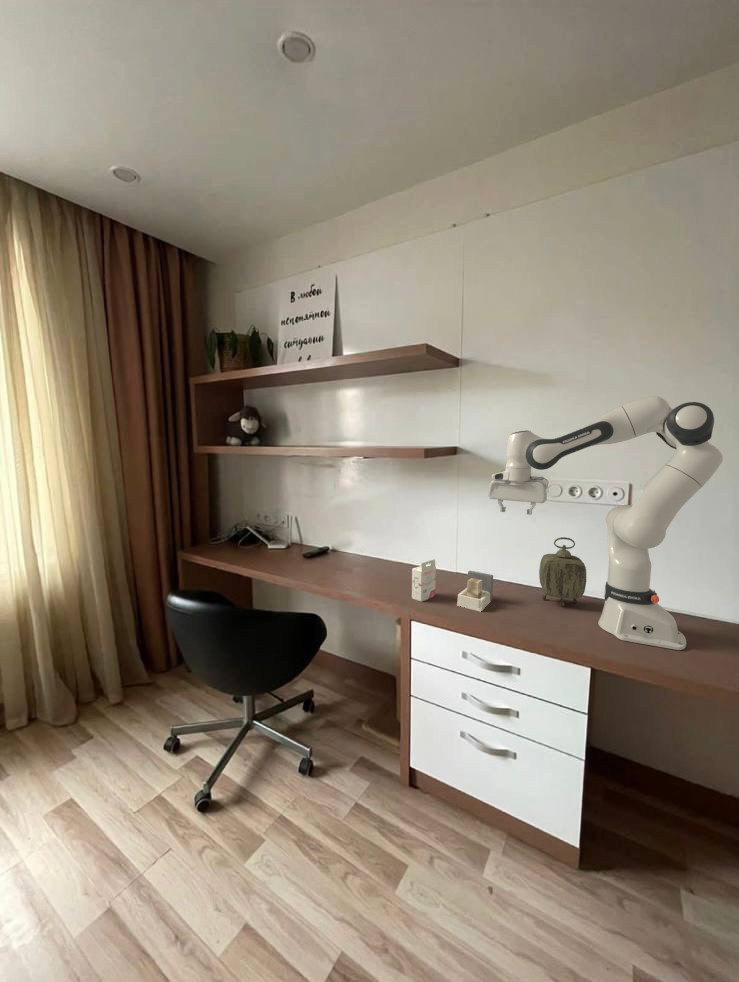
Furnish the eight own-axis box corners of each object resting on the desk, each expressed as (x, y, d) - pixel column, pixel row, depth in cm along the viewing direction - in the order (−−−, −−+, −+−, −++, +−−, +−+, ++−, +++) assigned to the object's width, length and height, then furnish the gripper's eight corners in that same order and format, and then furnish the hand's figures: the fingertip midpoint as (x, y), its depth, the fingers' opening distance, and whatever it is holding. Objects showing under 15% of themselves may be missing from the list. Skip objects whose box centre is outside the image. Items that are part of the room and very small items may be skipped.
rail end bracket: (481, 600, 144) (482, 579, 143) (477, 604, 140) (478, 583, 139) (471, 598, 146) (472, 577, 145) (466, 602, 143) (467, 580, 142)
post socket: (492, 600, 146) (493, 575, 145) (481, 611, 137) (482, 584, 136) (468, 595, 152) (469, 570, 150) (456, 605, 142) (457, 578, 141)
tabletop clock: (579, 601, 146) (584, 536, 144) (585, 611, 138) (590, 542, 135) (537, 597, 150) (541, 533, 147) (541, 606, 142) (545, 539, 139)
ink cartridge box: (425, 592, 154) (426, 556, 152) (435, 596, 150) (436, 559, 149) (410, 598, 148) (411, 560, 147) (421, 602, 145) (422, 563, 143)
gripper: (550, 476, 140) (547, 514, 141) (493, 473, 151) (491, 509, 153) (546, 477, 134) (544, 517, 136) (487, 474, 146) (486, 511, 148)
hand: (515, 513), depth 144 cm, fingers open, 8 cm apart
